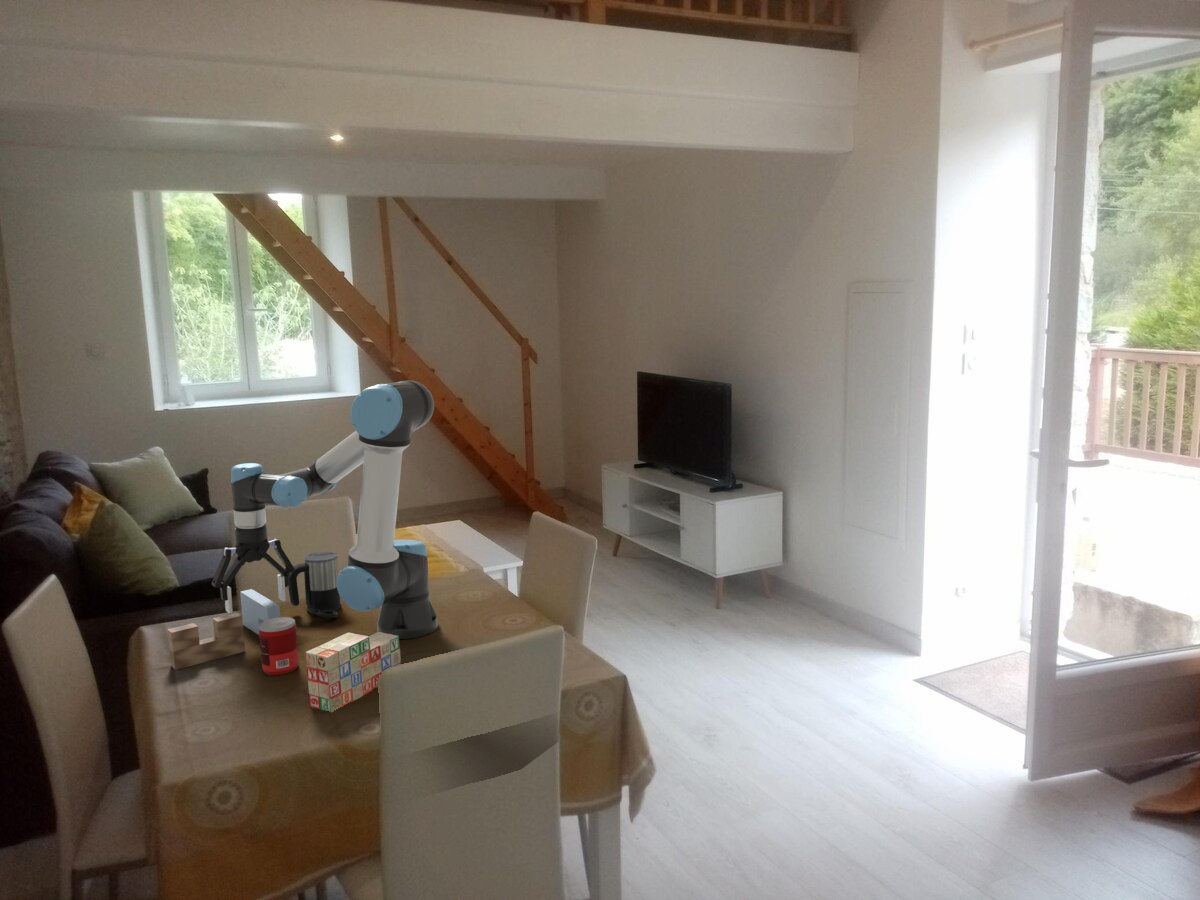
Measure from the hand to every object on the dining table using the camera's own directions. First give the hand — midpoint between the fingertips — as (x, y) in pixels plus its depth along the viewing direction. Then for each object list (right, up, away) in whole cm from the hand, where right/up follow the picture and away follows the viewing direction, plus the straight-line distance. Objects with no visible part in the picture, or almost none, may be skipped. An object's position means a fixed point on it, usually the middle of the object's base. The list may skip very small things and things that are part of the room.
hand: (256, 605), depth 230 cm
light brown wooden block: (-5, -10, -17) cm, 20 cm away
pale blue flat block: (+2, -7, 0) cm, 7 cm away
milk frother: (+13, -4, +13) cm, 19 cm away
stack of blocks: (+36, -12, -36) cm, 52 cm away
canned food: (+15, -11, -24) cm, 30 cm away
